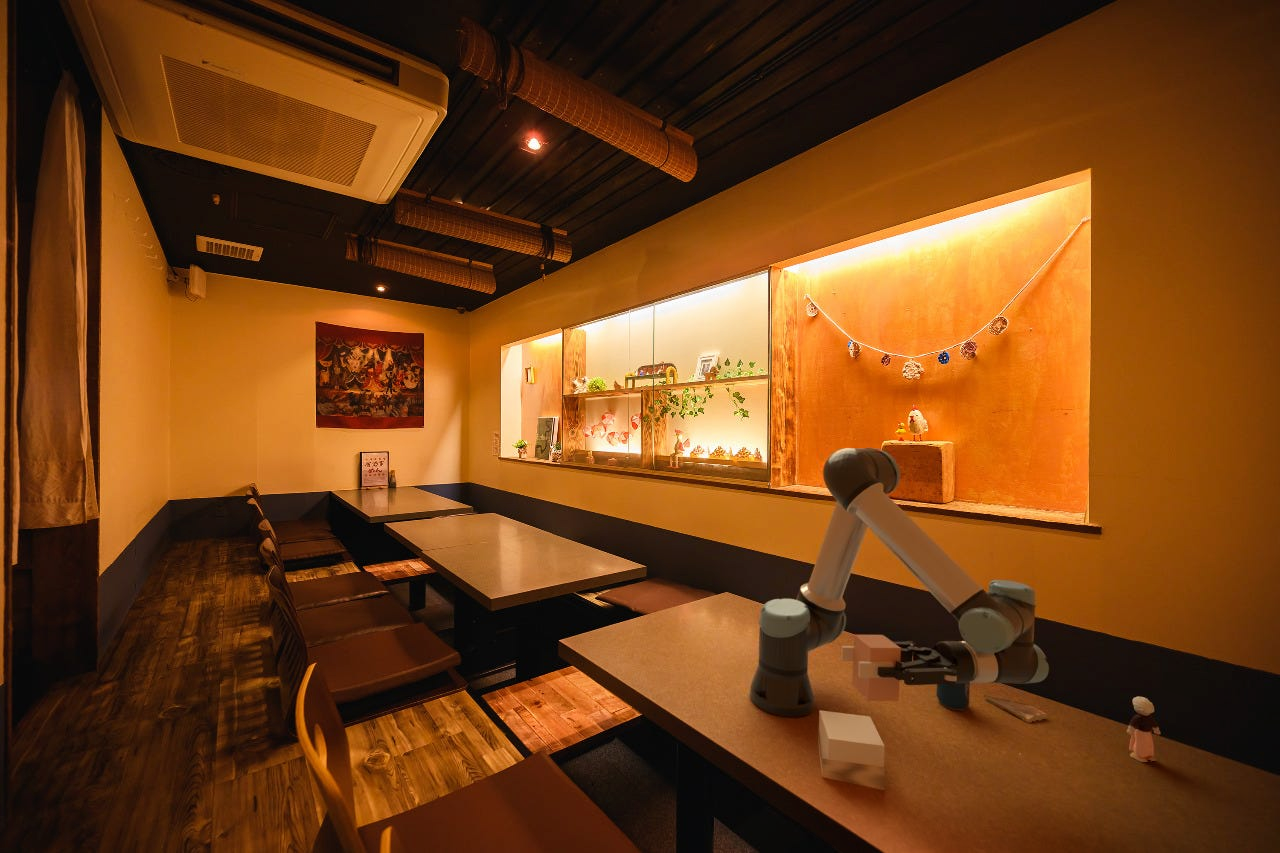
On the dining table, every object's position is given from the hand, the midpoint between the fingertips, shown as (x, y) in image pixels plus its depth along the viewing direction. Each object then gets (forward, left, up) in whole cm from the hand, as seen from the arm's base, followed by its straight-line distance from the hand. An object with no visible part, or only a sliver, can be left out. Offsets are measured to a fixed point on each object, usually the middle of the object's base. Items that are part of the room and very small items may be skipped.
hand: (850, 661), depth 98 cm
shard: (+43, +38, -23) cm, 62 cm away
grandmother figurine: (+61, +26, -22) cm, 70 cm away
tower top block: (+1, +3, -18) cm, 19 cm away
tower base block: (+1, +3, -22) cm, 23 cm away
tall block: (+5, +2, -6) cm, 8 cm away
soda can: (+29, +37, -22) cm, 52 cm away
